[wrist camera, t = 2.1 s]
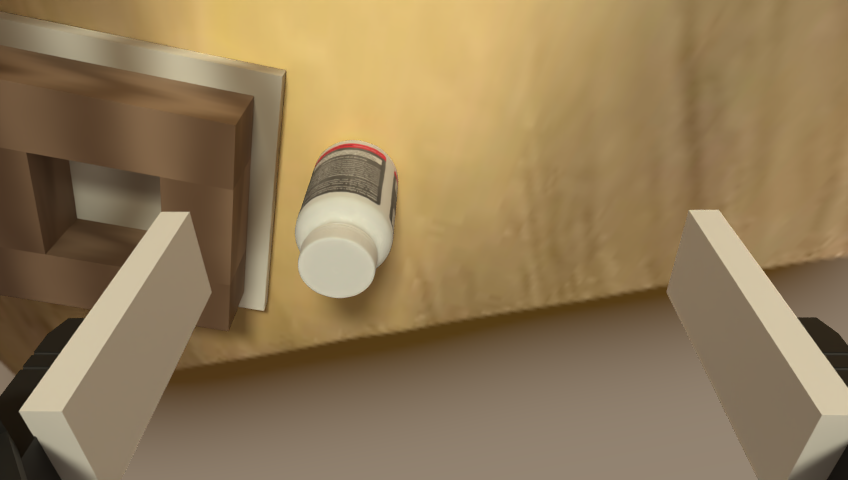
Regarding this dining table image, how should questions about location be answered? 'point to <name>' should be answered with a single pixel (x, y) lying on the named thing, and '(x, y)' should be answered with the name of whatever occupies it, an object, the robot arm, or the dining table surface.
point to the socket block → (131, 162)
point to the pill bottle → (347, 218)
